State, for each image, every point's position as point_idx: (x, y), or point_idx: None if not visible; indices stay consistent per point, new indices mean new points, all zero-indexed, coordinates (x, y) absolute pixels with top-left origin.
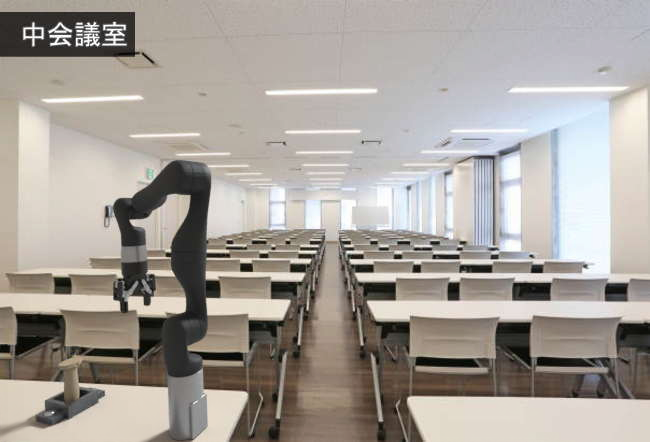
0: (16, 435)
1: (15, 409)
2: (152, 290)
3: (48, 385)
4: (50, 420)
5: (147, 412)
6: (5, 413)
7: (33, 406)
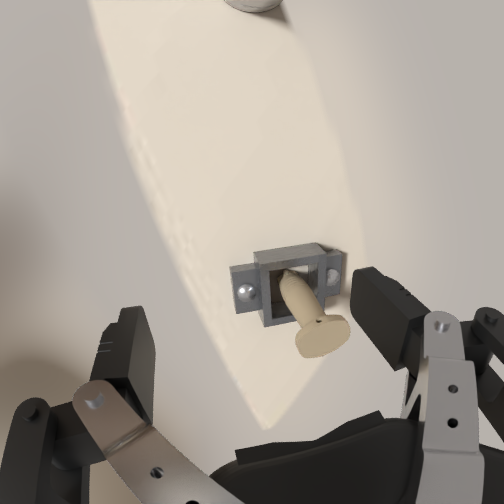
0: None
1: None
2: (55, 416)
3: (250, 387)
4: (341, 256)
5: (237, 106)
6: None
7: None
